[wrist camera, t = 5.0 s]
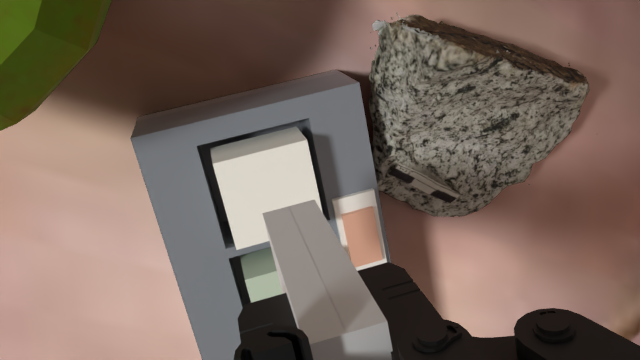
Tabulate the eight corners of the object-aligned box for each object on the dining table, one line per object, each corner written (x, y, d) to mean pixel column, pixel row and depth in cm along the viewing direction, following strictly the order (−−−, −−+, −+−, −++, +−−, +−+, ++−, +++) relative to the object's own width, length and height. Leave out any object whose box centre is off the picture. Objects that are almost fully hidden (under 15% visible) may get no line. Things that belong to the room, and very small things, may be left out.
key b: (239, 255, 23) (244, 280, 21) (320, 233, 23) (331, 255, 21) (259, 325, 24) (265, 354, 22) (334, 303, 24) (347, 329, 22)
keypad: (137, 117, 23) (129, 141, 19) (336, 69, 24) (362, 83, 20) (230, 410, 28) (237, 471, 24) (390, 359, 29) (419, 411, 25)
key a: (209, 148, 21) (212, 164, 19) (296, 126, 22) (307, 139, 20) (232, 227, 22) (236, 250, 20) (313, 205, 23) (325, 225, 21)
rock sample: (329, 270, 22) (517, 170, 16) (278, 95, 25) (425, -50, 19) (490, 249, 29) (668, 171, 23) (438, 112, 31) (585, 9, 25)
